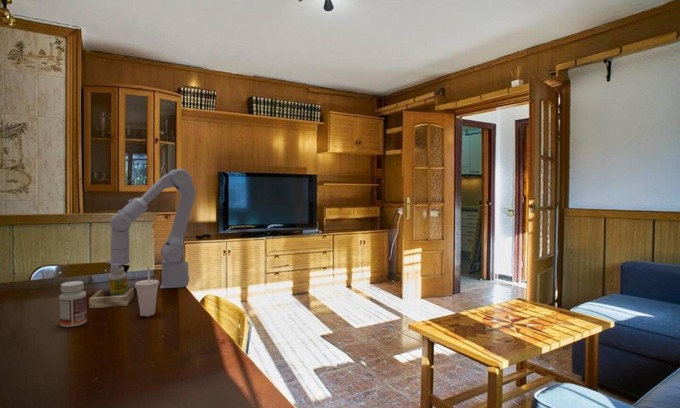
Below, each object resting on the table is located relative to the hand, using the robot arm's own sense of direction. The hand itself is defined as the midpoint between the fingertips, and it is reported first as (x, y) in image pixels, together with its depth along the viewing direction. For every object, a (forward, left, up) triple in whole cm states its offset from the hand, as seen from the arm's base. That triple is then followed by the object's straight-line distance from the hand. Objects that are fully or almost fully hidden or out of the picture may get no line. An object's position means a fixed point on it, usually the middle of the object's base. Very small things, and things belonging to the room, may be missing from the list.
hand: (119, 286), depth 139 cm
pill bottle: (+4, +31, -2) cm, 31 cm away
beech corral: (-1, +12, -2) cm, 12 cm away
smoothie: (-14, +28, -2) cm, 31 cm away
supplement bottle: (0, +2, -2) cm, 3 cm away
